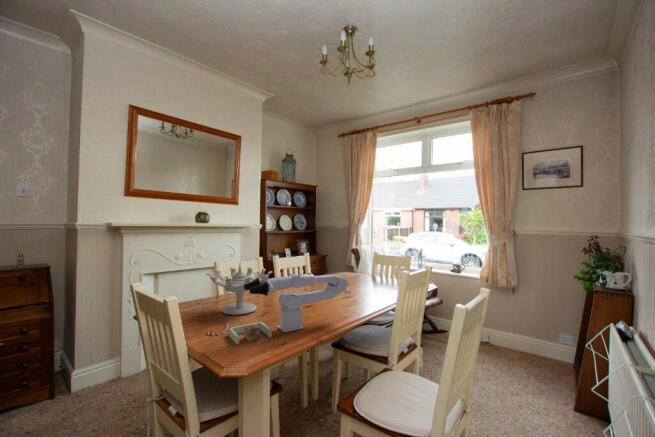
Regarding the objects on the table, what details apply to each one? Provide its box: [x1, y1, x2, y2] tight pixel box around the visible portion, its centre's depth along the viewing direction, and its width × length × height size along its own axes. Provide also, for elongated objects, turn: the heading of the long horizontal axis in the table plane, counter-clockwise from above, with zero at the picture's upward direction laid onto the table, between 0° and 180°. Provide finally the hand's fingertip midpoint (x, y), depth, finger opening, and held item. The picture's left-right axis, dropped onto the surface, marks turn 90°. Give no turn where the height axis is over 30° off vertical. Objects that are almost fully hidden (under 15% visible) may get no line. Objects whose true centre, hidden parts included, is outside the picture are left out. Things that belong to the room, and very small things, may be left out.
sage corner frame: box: [228, 321, 273, 345], centre depth 127 cm, size 15×12×3 cm
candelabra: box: [205, 262, 273, 316], centre depth 162 cm, size 34×35×27 cm
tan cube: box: [243, 323, 261, 342], centre depth 124 cm, size 5×5×5 cm
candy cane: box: [206, 322, 230, 337], centre depth 133 cm, size 8×1×15 cm
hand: (247, 289), depth 125 cm, fingers open, 7 cm apart
